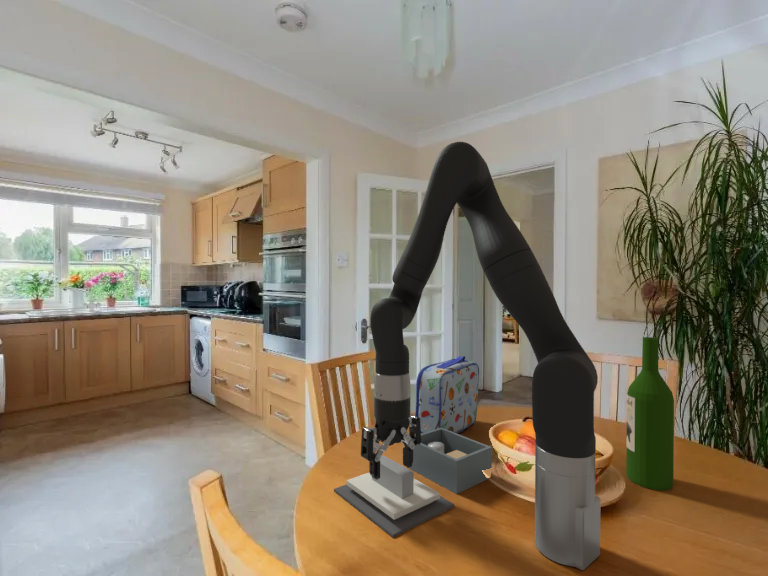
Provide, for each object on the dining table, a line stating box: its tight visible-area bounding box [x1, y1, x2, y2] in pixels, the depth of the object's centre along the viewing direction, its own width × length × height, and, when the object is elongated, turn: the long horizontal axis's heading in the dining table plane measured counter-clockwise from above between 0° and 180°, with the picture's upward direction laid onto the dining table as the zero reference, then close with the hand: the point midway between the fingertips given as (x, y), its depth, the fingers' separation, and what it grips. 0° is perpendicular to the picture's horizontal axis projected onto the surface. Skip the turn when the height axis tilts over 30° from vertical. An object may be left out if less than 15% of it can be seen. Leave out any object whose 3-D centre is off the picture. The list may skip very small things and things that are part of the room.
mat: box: [333, 483, 455, 538], centre depth 83 cm, size 20×16×1 cm
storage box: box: [409, 428, 493, 495], centre depth 95 cm, size 16×12×7 cm
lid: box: [346, 454, 441, 519], centre depth 83 cm, size 16×12×6 cm
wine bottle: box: [625, 336, 675, 491], centre depth 91 cm, size 9×9×32 cm
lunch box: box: [414, 355, 480, 434], centre depth 123 cm, size 28×10×22 cm, turn 143°
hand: (392, 471), depth 83 cm, fingers open, 8 cm apart
